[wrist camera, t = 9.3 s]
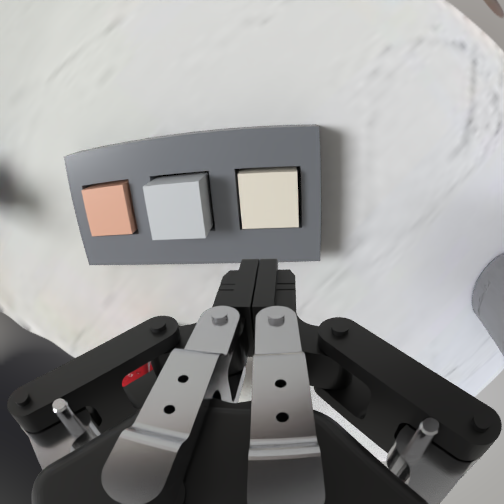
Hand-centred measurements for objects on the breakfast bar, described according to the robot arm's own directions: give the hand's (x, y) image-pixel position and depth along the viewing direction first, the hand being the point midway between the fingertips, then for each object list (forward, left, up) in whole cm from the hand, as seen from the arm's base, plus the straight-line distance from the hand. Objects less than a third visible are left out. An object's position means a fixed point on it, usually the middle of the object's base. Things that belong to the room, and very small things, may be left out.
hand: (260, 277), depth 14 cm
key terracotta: (+14, 0, -14) cm, 20 cm away
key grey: (+7, 0, -13) cm, 15 cm away
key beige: (0, 0, -14) cm, 14 cm away
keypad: (+7, 0, -15) cm, 16 cm away
